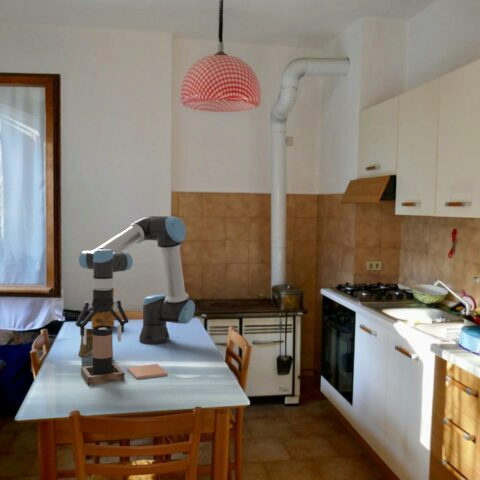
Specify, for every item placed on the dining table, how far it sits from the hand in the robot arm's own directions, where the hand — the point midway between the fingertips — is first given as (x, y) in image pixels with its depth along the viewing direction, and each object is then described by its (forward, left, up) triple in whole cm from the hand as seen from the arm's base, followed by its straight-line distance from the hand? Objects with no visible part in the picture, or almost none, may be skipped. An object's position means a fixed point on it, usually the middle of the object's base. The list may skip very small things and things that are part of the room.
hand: (102, 342), depth 209 cm
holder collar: (0, 0, -14) cm, 14 cm away
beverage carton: (-2, -18, -15) cm, 23 cm away
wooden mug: (-4, -34, -14) cm, 37 cm away
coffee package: (-20, -86, -14) cm, 90 cm away
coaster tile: (-18, +1, -14) cm, 23 cm away
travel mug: (0, 0, -14) cm, 14 cm away
